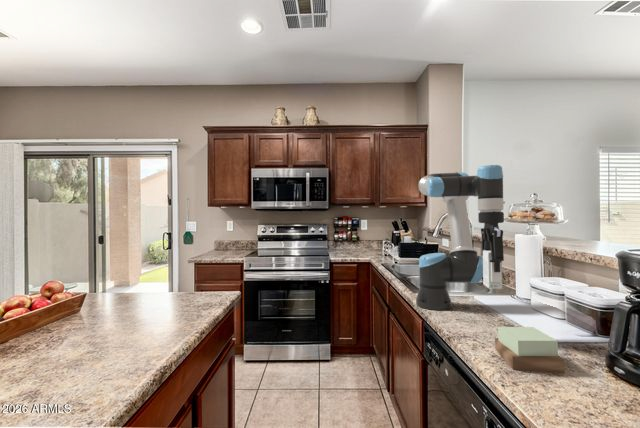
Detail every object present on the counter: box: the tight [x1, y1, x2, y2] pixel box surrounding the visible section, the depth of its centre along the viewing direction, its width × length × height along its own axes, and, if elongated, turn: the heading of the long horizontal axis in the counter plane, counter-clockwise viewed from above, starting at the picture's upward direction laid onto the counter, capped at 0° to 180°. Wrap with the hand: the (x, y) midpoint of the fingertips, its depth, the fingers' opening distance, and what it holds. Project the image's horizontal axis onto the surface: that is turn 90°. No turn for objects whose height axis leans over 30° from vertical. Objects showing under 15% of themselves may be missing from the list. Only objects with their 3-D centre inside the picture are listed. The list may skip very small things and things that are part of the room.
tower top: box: [497, 326, 559, 356], centre depth 85 cm, size 10×10×4 cm
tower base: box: [494, 337, 565, 374], centre depth 84 cm, size 12×12×4 cm
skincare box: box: [482, 250, 503, 290], centre depth 102 cm, size 6×4×12 cm
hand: (492, 279), depth 102 cm, fingers closed on skincare box, 6 cm apart
